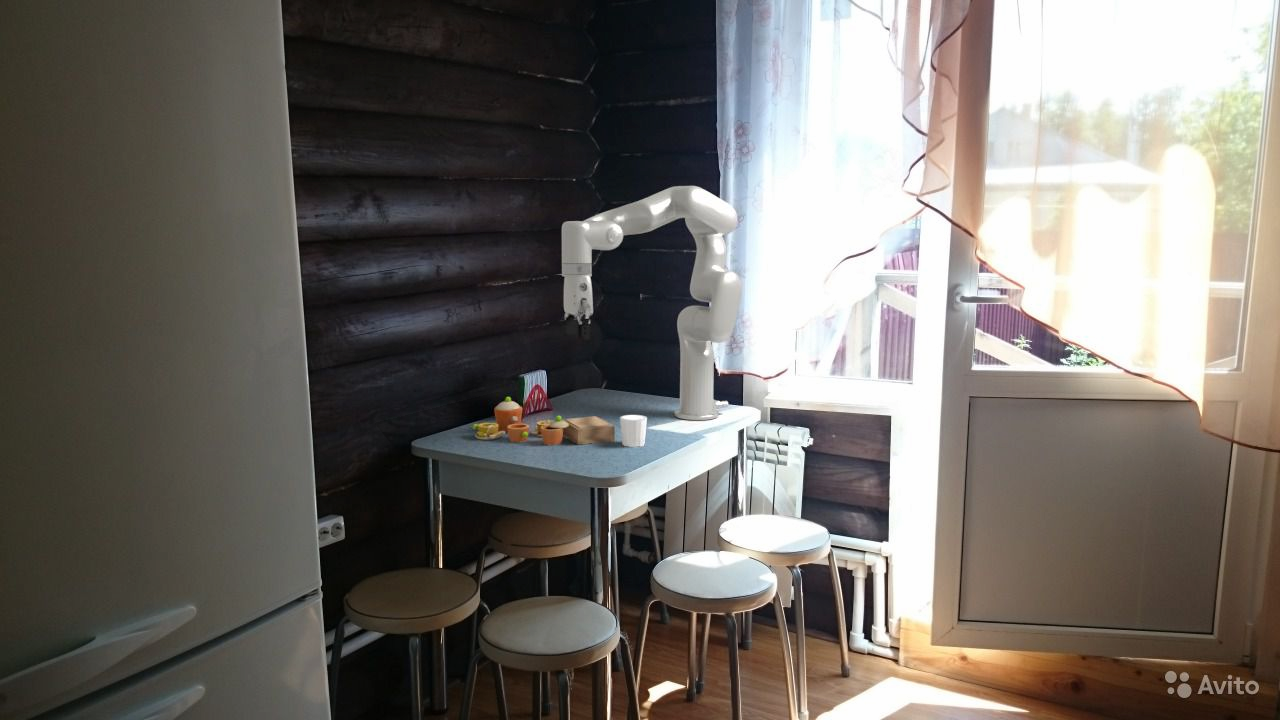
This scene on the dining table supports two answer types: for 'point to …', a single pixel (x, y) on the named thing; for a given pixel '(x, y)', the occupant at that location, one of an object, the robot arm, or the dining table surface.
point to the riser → (589, 430)
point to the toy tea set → (519, 426)
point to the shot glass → (633, 430)
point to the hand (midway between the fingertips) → (577, 337)
